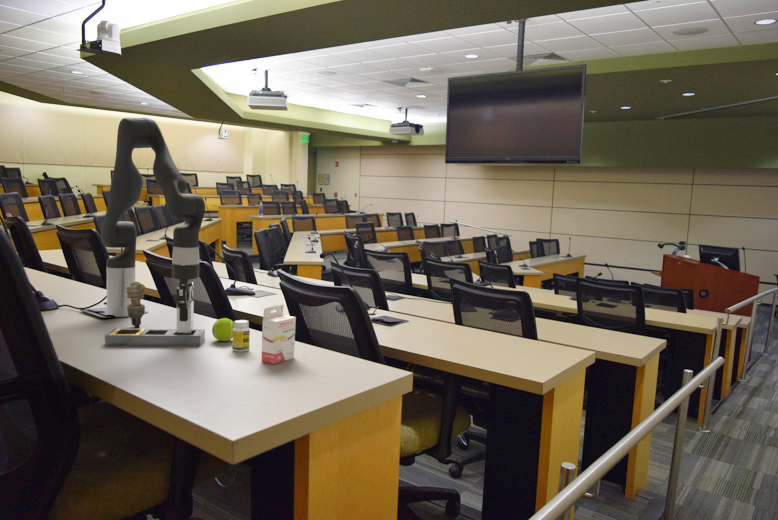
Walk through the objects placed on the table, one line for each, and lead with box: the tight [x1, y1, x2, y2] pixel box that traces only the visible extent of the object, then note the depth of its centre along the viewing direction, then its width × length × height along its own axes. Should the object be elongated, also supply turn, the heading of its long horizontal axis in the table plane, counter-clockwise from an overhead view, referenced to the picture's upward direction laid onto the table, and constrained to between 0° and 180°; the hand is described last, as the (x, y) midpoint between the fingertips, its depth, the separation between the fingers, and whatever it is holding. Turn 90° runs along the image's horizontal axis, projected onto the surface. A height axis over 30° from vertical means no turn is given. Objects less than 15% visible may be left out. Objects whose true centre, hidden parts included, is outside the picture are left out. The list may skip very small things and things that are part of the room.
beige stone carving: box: [126, 281, 146, 328], centre depth 181 cm, size 6×6×15 cm
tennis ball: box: [211, 317, 235, 342], centre depth 170 cm, size 7×7×7 cm
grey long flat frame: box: [104, 328, 206, 347], centre depth 165 cm, size 8×26×3 cm, turn 99°
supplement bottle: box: [232, 319, 251, 353], centre depth 161 cm, size 5×5×8 cm
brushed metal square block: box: [176, 300, 195, 333], centre depth 166 cm, size 4×4×9 cm
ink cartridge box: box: [261, 304, 297, 365], centre depth 152 cm, size 9×5×15 cm, turn 152°
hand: (185, 318), depth 166 cm, fingers closed on brushed metal square block, 4 cm apart
